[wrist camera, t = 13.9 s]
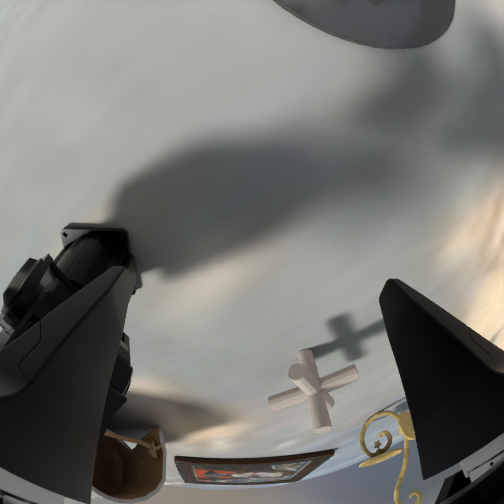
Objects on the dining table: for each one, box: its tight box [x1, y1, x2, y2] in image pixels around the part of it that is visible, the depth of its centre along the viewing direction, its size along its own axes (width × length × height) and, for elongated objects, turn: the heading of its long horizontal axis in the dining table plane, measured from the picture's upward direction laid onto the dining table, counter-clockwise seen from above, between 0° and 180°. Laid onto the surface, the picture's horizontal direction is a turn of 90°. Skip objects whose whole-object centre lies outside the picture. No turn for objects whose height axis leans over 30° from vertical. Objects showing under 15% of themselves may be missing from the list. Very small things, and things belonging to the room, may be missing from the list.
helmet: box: [91, 428, 167, 503], centre depth 34 cm, size 19×18×30 cm
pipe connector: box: [268, 349, 360, 433], centre depth 26 cm, size 10×10×10 cm
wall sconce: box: [359, 411, 422, 504], centre depth 36 cm, size 14×10×25 cm
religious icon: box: [174, 450, 335, 485], centre depth 67 cm, size 40×45×3 cm
